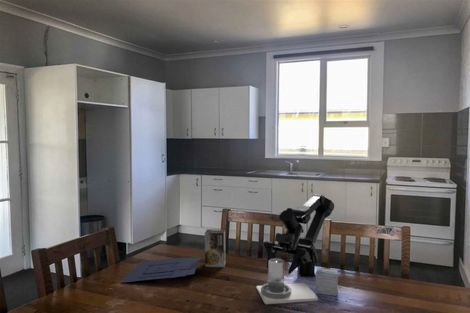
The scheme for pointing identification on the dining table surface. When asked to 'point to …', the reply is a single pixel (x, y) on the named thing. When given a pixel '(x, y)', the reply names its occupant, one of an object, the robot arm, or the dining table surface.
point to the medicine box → (327, 281)
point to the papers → (163, 269)
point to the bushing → (276, 277)
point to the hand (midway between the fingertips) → (278, 270)
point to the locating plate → (295, 296)
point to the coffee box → (214, 248)
